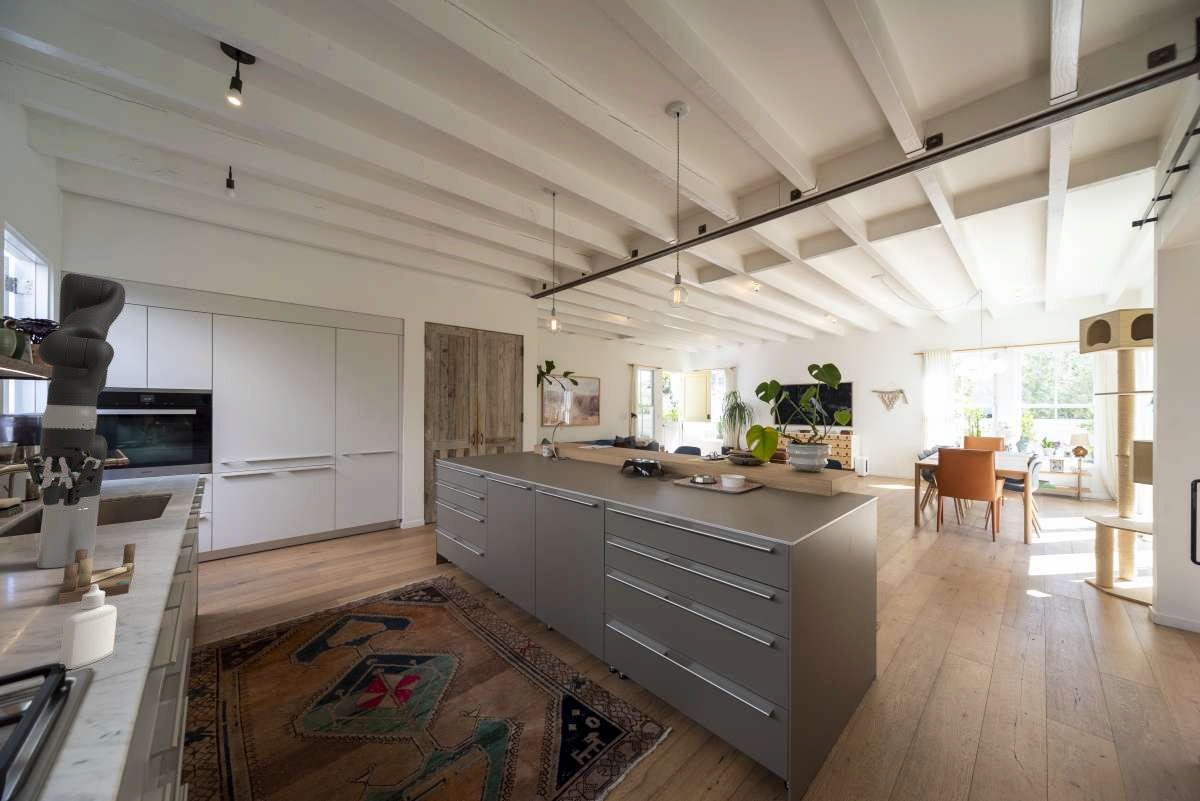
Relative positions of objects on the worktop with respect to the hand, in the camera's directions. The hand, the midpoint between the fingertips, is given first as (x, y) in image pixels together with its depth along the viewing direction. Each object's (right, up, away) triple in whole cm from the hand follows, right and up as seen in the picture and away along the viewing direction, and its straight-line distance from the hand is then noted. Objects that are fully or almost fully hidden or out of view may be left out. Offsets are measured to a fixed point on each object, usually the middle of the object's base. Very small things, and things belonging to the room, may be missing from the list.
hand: (61, 504), depth 94 cm
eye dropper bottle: (+36, -19, -25) cm, 48 cm away
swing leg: (+6, -17, +3) cm, 19 cm away
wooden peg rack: (+5, -20, +3) cm, 20 cm away
